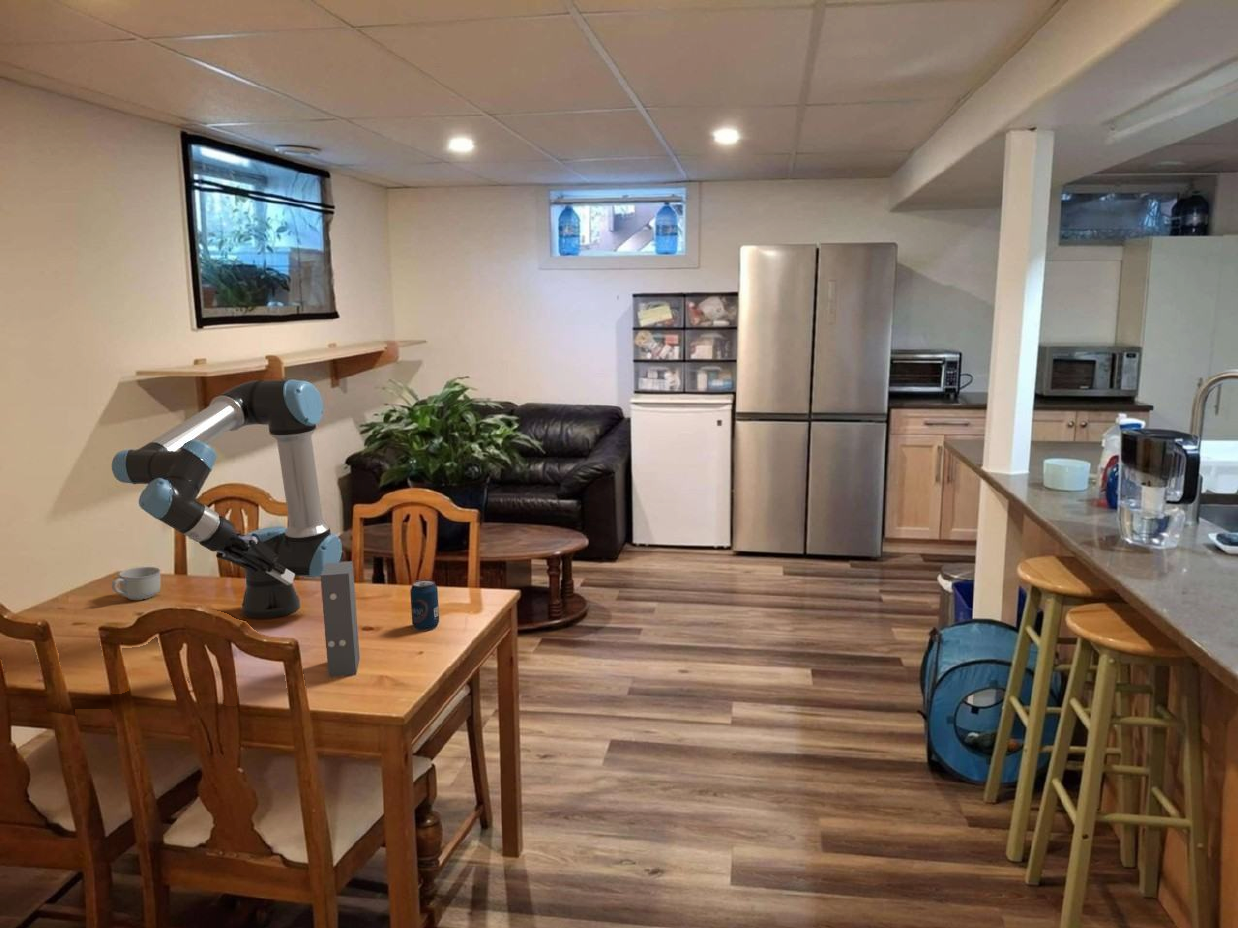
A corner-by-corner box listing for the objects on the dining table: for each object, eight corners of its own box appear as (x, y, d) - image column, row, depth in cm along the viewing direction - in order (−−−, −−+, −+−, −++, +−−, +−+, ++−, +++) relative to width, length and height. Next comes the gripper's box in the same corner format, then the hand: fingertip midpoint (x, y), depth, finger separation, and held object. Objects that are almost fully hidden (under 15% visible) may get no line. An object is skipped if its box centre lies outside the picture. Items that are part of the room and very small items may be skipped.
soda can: (407, 629, 228) (404, 585, 226) (422, 620, 234) (419, 577, 232) (430, 632, 226) (427, 587, 224) (444, 623, 232) (442, 580, 230)
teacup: (151, 589, 266) (148, 563, 265) (170, 595, 260) (167, 569, 259) (103, 601, 255) (100, 575, 254) (121, 608, 249) (118, 581, 248)
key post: (328, 678, 198) (320, 576, 194) (333, 660, 209) (325, 563, 204) (356, 675, 200) (348, 574, 196) (359, 658, 210) (352, 561, 206)
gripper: (184, 550, 195) (268, 599, 210) (221, 535, 189) (305, 586, 204) (196, 522, 199) (278, 572, 214) (233, 507, 194) (314, 559, 208)
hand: (291, 579), depth 209 cm, fingers closed
